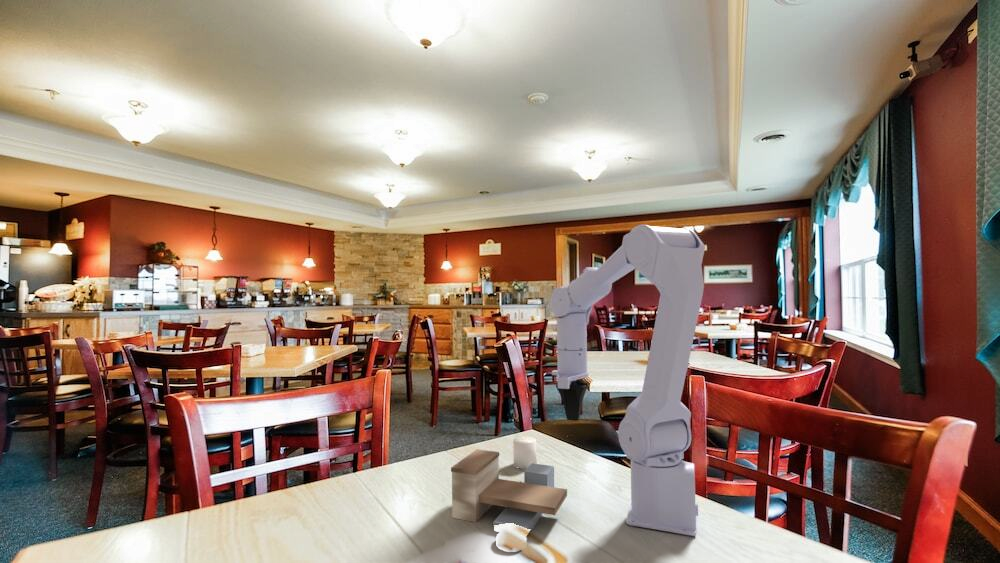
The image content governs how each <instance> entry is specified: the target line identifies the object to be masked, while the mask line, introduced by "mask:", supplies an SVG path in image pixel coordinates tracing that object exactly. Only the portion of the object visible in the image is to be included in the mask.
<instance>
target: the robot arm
mask: <svg viewBox="0 0 1000 563" xmlns="http://www.w3.org/2000/svg"><path fill="white" fill-rule="evenodd" d="M705 249H706V245H705V244H704V243H703V241H702V240H701V239H700V237H699V236H698V234H697V233H696V232H695V231H694V230H692V229H691V228H688V227H680V228H678V227H666V226H654V225H653V226H652V225H648V224H639V225H636V226H634V227H633V228H631V230H630V231H629V232H628V233H626V234H625V235H623V237H622V243H621V246H620V247H618V249H617V250H616V251H614V252H613V253H612V254H611V256H609V257H608V258H607V259H606V260H605V261H604V262H603V263H602V264H600V266H599V267H595V266H593V267H592V266H591V267H587V266H586V267H585V268H584V269H583V270H582V273H581V274H580V275H579V276H578V277H576V278H575V279H572V280H571V281H570V283H569V284H568V285H567V286H556V287H555V288H554V289H553V291H552V292H551V295H550V308H551V309H550V310H551V312H552V313H553V315H554V316H555V317H556V348H557V349H556V350H557V351H556V354H557V356H556V357H557V359H556V360H557V369H554V370H552V371H551V376H556V378H557V382H556V383H555V387H556V390H557V391H558V394H559V395H560V398H561V400H562V404H563V407H564V408H563V409H564V413H565V417H566V420H567V421H573V422H578V421H579V420H580V419H581V413H582V408H583V407H582V406H583V401H584V397H585V394H586V392H587V390H588V387H589V385H590V382H589V381H587V380H581V379H585V378H586V379H587V378H588V377H589V370H588V343H587V342H588V338H587V336H588V335H587V333H588V332H587V329H588V328H587V325H588V326H589V323H590V315H591V312H592V310H593V306H594V304H596V303H597V302H599V301H600V300H601V299H603V298H605V297H606V296H607V295H608V294H610V293H611V291H612V286H613V283H615V282H616V281H619V280H620V279H621V278H623V277H624V276H626V275H627V274H628V273H630V272H632V271H634V270H635V269H636V270H637V271H638V272H639V273H640V274H641V275H642V276H643V277H644V278H646V280H647V281H649V283H651V284H653V285H654V286H655V287H656V289H657V290H658V292H659V294H660V296H659V301H658V306H657V312H656V317H655V321H654V327H653V332H652V336H651V337H652V338H651V343H650V347H649V354H648V359H647V363H646V364H647V365H646V368H645V369H646V370H645V375H644V380H643V386H642V390H641V392H640V394H639V395H638V396H637V397H635V398H634V400H632V402H630V403H629V404H628V406H627V407H626V412H625V415H624V418H623V419H622V420H621V421H620V423H619V426H618V430H617V434H618V435H617V436H618V441H619V442H618V443H619V444H620V448H621V449H622V451H623V453H624V454H625V455H626V459H629V460H630V486H631V487H630V489H631V490H630V491H631V494H630V495H631V496H630V498H631V502H630V506H629V510H628V512H627V517H626V520H625V523H626V524H627V525H629V526H634V527H639V528H646V529H651V530H657V531H662V532H663V531H664V532H669V533H674V534H680V535H686V536H693V537H695V536H696V535H697V518H696V517H699V503H698V502H697V501H696V480H695V479H696V478H695V477H696V475H695V474H696V473H695V472H696V470H695V469H696V468H695V463H694V462H688V461H685V460H683V459H684V458H685V457H684V456H685V455H684V452H685V451H687V449H689V447H690V445H691V443H692V430H691V418H692V412H691V411H690V410H689V408H688V407H687V406H686V405H685V404H684V403H683V402H682V401H681V400H682V396H683V390H684V385H685V380H686V376H687V371H688V367H689V362H690V356H691V353H692V347H693V343H694V342H693V341H694V338H695V333H696V329H697V328H696V327H697V323H698V319H699V314H700V311H701V310H700V309H701V304H702V300H703V295H704V290H705V289H704V288H705V283H704V282H705V281H704V275H703V267H702V264H703V259H704V256H705V255H704V254H705V251H706V250H705Z"/></svg>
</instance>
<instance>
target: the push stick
mask: <svg viewBox="0 0 1000 563" xmlns="http://www.w3.org/2000/svg"><path fill="white" fill-rule="evenodd" d="M523 476H524V477H523V478H524V482H523V483H530V484H536V485H543V486H549V487H555V466H554V465H547V464H541V463H537V464H533V463H532V464H531V465H530V466H529V467H528V468H527V469H524V471H523ZM543 514H544V513H539V512H533V511H527V510H521V509H516V508H510V507H505V508H503V510H502V511H501V513H499V515H498V516H497V517H496V518H495V519H494V520H493V523H492V524H493V526H494V525H499V524H505V523H514V524H516V525H519V526H522V527H524V528H527V529H531V531H532V530H533V528H534V527H535V525H536V524H537V523H538V522H539V520H541V517H542V516H543Z"/></svg>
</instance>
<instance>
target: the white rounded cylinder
mask: <svg viewBox="0 0 1000 563" xmlns="http://www.w3.org/2000/svg"><path fill="white" fill-rule="evenodd" d="M512 441H513V442H512V443H513V446H512V447H513V450H512V452H513V453H512V454H513V467H514V466H515V467H518V468H522V469H521V470H526V469H527V468H528V467H529V466H530V465H531V464H532V463H533V464H538V463H537V439H536V438H535V437H531V436H518V437H516V438H513V440H512ZM515 467H514V468H515ZM518 468H517V469H518Z"/></svg>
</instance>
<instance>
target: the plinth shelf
mask: <svg viewBox="0 0 1000 563" xmlns="http://www.w3.org/2000/svg"><path fill="white" fill-rule="evenodd" d="M499 457H500V451H494V450H485V449H475V450H474V451H472V452H471V453H469V454H468V455H466V456H465V457H463V459H461V460H460V461H458V462H457V463H455V464H454V465H453V466H451V467H450V472H451V498H452V499H451V515H452V516H451V517H452V519H457V520H461V521H462V520H463V521H468V522H472V523H477V522H478V521H479V520H480V518H481V517H482V516H483V515H485V513H486V512H487V511H488V510H489V509H490V508H491V507H492V506H499V507H505V508H506V507H510V508H516V509H521V510H527V511H533V512H539V513H543V514H545V515H551V516H556V515H557V512H558V511H559V509H560V508H561V506H562V505H563V503H564V501H565V500H566V498H567V497H568V488H567V489H566V488H561V487H555V486H554V487H549V486H543V485H536V484H530V483H524V482H521V481H515V480H508V479H503V478H500V473H499V472H500V471H499V470H500V468H499V466H500V465H499V460H500V459H499Z"/></svg>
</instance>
